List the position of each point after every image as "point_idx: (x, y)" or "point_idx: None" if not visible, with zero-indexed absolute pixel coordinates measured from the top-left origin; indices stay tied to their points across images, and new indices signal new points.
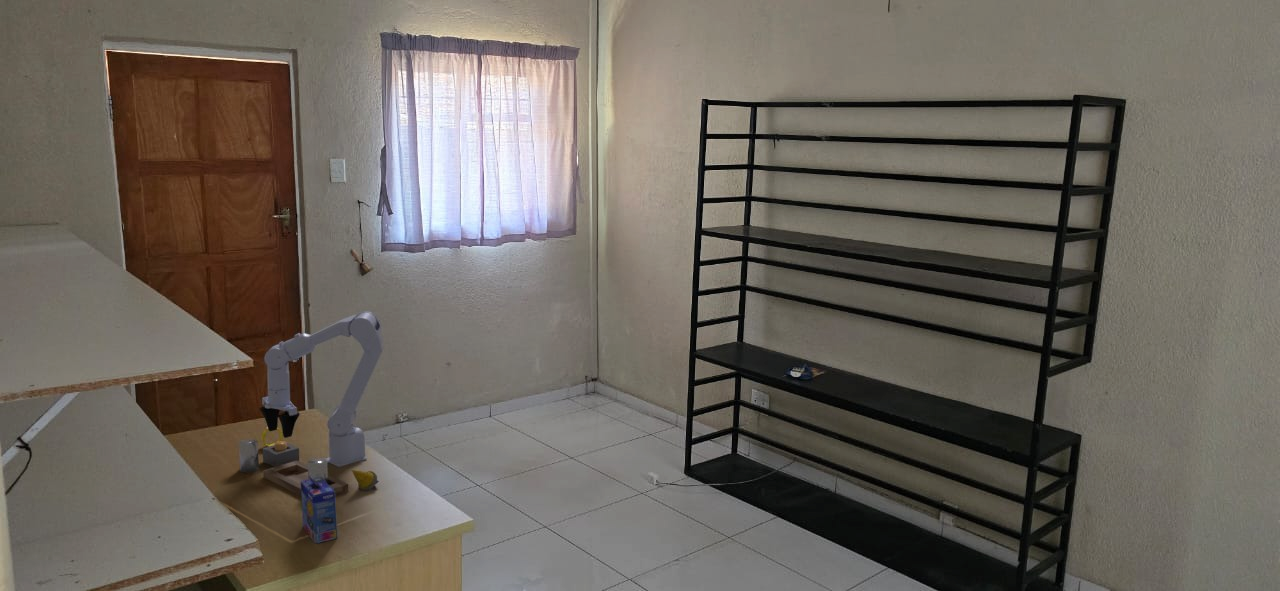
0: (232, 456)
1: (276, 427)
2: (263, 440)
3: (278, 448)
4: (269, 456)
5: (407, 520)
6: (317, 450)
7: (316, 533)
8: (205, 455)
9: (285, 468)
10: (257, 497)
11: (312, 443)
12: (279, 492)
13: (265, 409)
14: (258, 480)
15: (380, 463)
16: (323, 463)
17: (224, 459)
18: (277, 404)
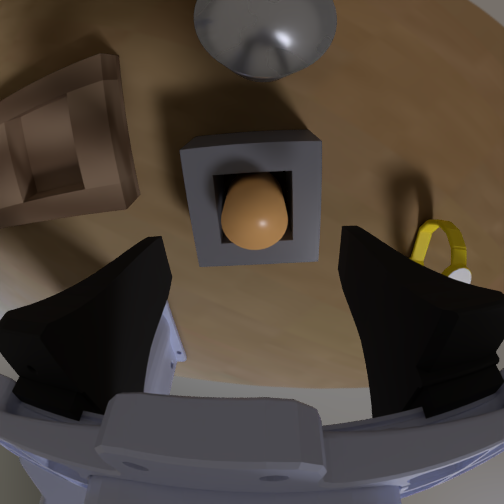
0: (441, 87)
1: (342, 278)
2: (440, 223)
3: (232, 190)
4: (250, 137)
5: None
6: (267, 317)
7: None
8: (495, 49)
9: (75, 139)
10: (16, 21)
11: (333, 329)
12: (8, 82)
13: (437, 341)
14: (120, 36)
15: None
16: None
17: (433, 51)
18: (88, 495)
